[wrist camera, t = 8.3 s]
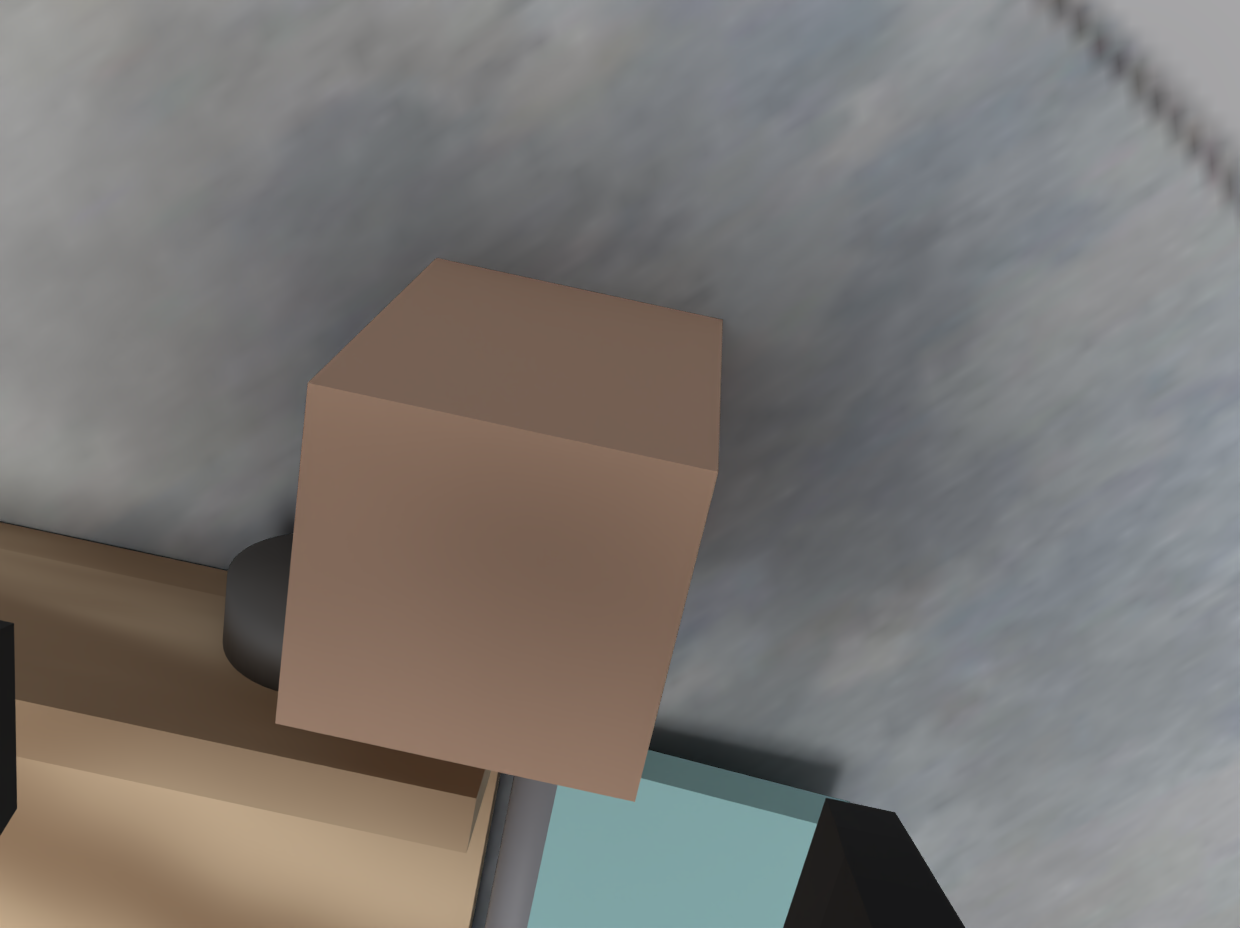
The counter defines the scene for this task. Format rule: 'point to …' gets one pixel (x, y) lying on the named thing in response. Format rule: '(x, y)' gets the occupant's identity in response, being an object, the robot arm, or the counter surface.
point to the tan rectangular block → (501, 526)
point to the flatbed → (205, 762)
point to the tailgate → (654, 852)
